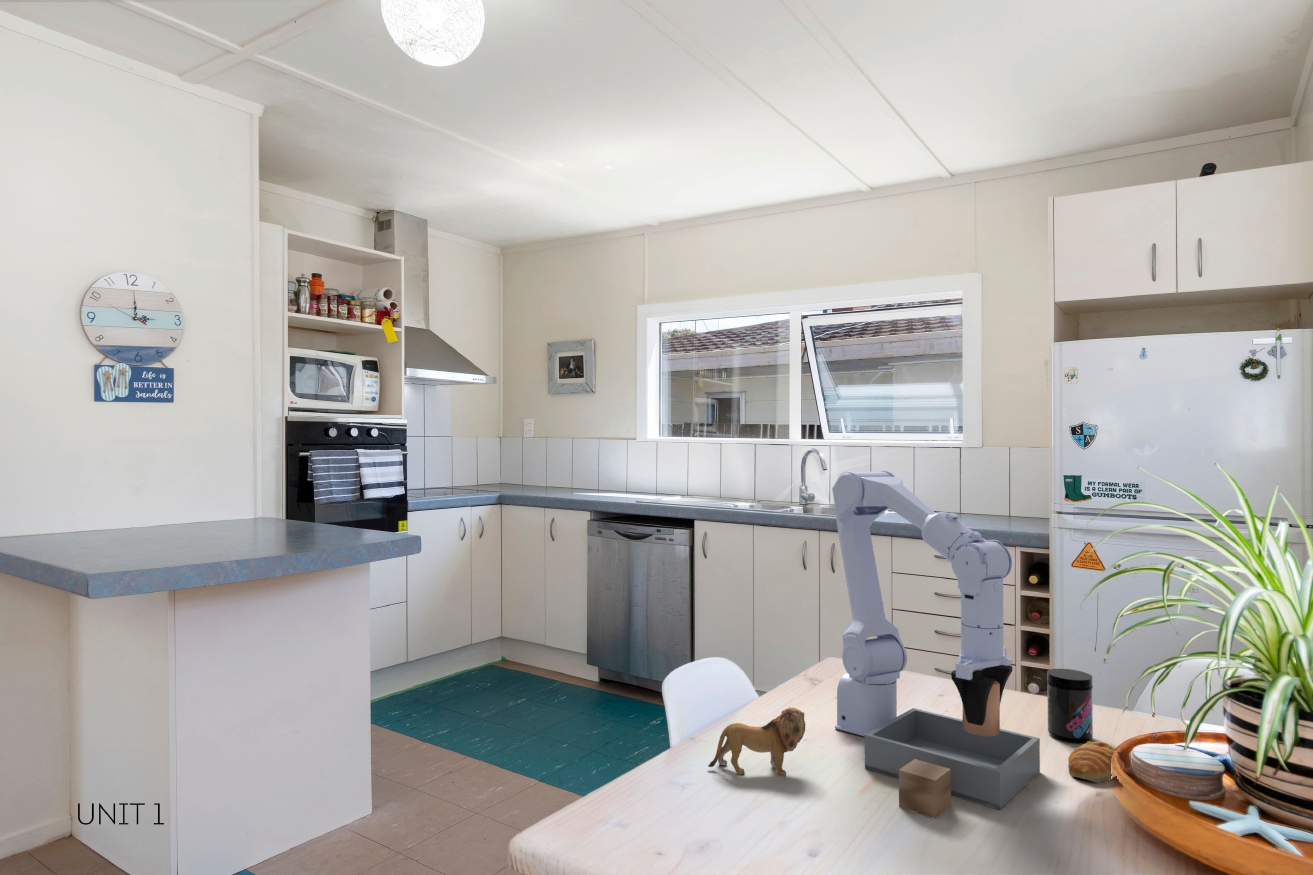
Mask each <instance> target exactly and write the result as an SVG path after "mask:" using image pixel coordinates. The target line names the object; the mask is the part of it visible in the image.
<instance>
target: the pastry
mask: <svg viewBox="0 0 1313 875" xmlns="http://www.w3.org/2000/svg"><path fill="white" fill-rule="evenodd" d="M1115 750H1116V751H1117V749H1116V748H1115V747H1114V746H1112V745H1111V744H1109V743H1107V742H1103V741H1100V740H1099V741H1088V742H1087V743H1082V745H1081V746H1080V745H1079V746H1077V747H1075V748H1074V750H1073V751H1071V753H1070V754H1069V755H1068V757H1067V758H1068V766H1067V767H1068V772H1069V774H1070V777H1074V778H1075V777H1076V778H1079V779H1083V780H1087V781H1090V782H1093V783H1096V784H1097V783H1099V782H1105V781H1112V780H1111V776H1112V774H1111V758H1112V755H1113V753H1114V751H1115ZM1109 779H1110V780H1109Z"/></svg>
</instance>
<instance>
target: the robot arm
mask: <svg viewBox="0 0 1313 875" xmlns="http://www.w3.org/2000/svg"><path fill="white" fill-rule="evenodd" d="M831 491H832V494H833V495H832V496H833V501H834V507H835V512H836V513H835V514H836V527H837V532H838V534H837V535H838V539H839V546H840V551H841V557H842V563H843V567H844V574H845V580H846V587H847V592H848V593H847V594H848V599H849V604H850V612H851V615H852V616H851V617H852V623H851V624H850V626H848V628H847V629H846V630H845V631H844V633H843V634H842V642H843V646H842V647H843V649H842V653H841V654H842V655H841V658H842V665H843V667H844V669H845V671H846V672H845V673H843V674H842V675H841V677H840V678H839V681H838V684H837V688H836V689H837V690H836V724H835V725H834V728H835V729H837V730H840V731H842V732H847V733H850V734H854V735H856V736H860V737H864V738H865V734H867V733H869V732H871V731H872V730H874V729H876V728H878V727H880V726H881V725H883V724H885V723H887V722H889V721H890V720H892V719H894V718H896V717H898V714H897V712H898V711H897V705H898V703H897V701H898V698H897V694H898V693H897V691H898V690H897V688H898V687H897V686H898V685H897V684H898V683H897V682H898V679H901V678H900V676H901V674H900V673H901V672H903V671H904V670H905V668H906V667H907V662H908V655H907V651H906V647H905V646H904V643H903V642H902V640H901V637H900V634H899V629H898V628H897V627H896V626H895V625H894V624H893V623H892V622H890V620H888V619H887V618H886V614H885V613H886V612H885V608H884V603H883V596H882V591H881V590H882V589H881V586H880V579H879V575H878V569H877V562H876V559H875V558H876V557H875V552H874V546H873V541H872V536H871V535H872V534H871V530H870V528H871V526H872V525H873V523H874V521H876V520H877V519H878V518H879V517H880V516H882V515H883V514H884V513H885V512H887V511H888V509H890V510H892V511H893V512H894V513H895V514H897V515H899V516H900V517H902V518H903V519H905V520H906V521H908V522H909V523H911V524H912V525H914V526H915V527H916V528H918V529H920V531H921V538H922V540H923V542H924V543H926V544H927V546H930V548H932V549H933V550H934V551H935V552H937V553H938V554H939V555H941V557H944V558H945V559H946V560H947V561H948V562H950V564H951V568H952V571H953V573H954V575H955V576H956V579H957V588H958V589H959V592H960V652H959V656H958V662H956V663H955V669H954V670H952V671H951V674H950V675H951V680H952V682H953V683H954V685H955V687H956V689H957V691H958V693H959V696H960V700H961V703H963V707H964V712H965V716H966V719H967V722H968V723H972V724H976V725H980V726H982V725H983V724H984V721H985V716H986V708H987V701H988V696H989V693H990V690H991V688H992V685H993V683H994V682H995V680H996V681H998V682H999V683H1000V703H1001V701H1002V698H1003V693H1004V690H1005V686H1006V684H1007V682H1008V680H1009V677H1010V676H1011V674H1012V672H1013V666H1012V665H1013V658H1010V657H1007V647H1006V646H1005V644H1004V579H1005V578H1007V576H1008V575H1009V574H1010V573H1011V571H1012V567H1013V560H1012V555H1011V553H1010V550H1008V548H1007V547H1006V546H1005V545H1004V544H1003V543H1002V541H1000V540H997V539H988V540H987V539H985V538H983V537H982V536H983V535H982V534H981V533H980V532H979V531H978V530H977V531H975V530H974V531H973V530H972V529H971V528H969V527H968V526H966V525H965V524H964V523H962V521H960V520H959V518H960V517H959V516H958V514H956V513H955V512H946V511H941V512H935V511H934V510H933V509H931V507H929V506H928V505H927V504H926V503H925V502H923V501H922V500H921V499H920V498H919V497H918V496H916V495H915V494H914V493H913V492H912V491H910V489H909V488H907V487H906V486H904V483H903V480H902V479H901V478H900V477H898V476H895V474H894V473H893V472H891V471H888V470H880V471H851V470H850V471H849V470H847V471H843V472H842V473H840V475H839V476H838V478H837V479H836V481H835V483H834V484H833V486H832V490H831ZM871 637H876V638H871ZM869 638H870V639H869Z"/></svg>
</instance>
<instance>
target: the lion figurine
mask: <svg viewBox="0 0 1313 875" xmlns="http://www.w3.org/2000/svg"><path fill="white" fill-rule="evenodd" d="M805 732H806V721H805V712H804V711H801V710H800V709H798V708H796V707H791V706H790V707H787V708H785V709H783V710H781V714H780V715H779V716H777V717H775V718H773V719H772V720H770V722H767V724H765V725H763V726H752V725H747V724H744V723H742V722H735V723H731V724H729V725H727V726H726V727H725V728H724V729H723V730H722V732H721V734H720V737H719V740H718V744H717V749H716V752H715V753H716V754H715V756H714V758H713V760H711V762H709V764H708V765H707V767H709V768H713V767H715V766H716V764H717V762H718V764H719V765H721V766H726V765H727V764H728V761H727V760H726V759H724V757H725V755H726V754H727V753H728V752H731V759H730V763H731V765H732V766H733V768H734V769H733V770H734V771H735V773H736V774H738V775H744V774H745V769H744V768H743V767H742V768H741V767H740V766H739V763H738V761H739V757H740V754H741V752H742V750H743V746H744V747H746V748H747V749H749V750H750V751H752V752H756V753H761V754H763V753H770V761H769V762H770V765H771V767H772V768H773V769H775V770H776V773H777V774H778V775H779V776H786V775H787V771H786V770H785V769H783V764H784V759H785V758H784V757H785V753H787V752H793V751H794V750H795V749H796V748H797V745H798V743H800V742H801V740H802V739H803V738H804V735H805ZM725 738H726V740H725ZM724 741H725V742H724Z"/></svg>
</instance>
